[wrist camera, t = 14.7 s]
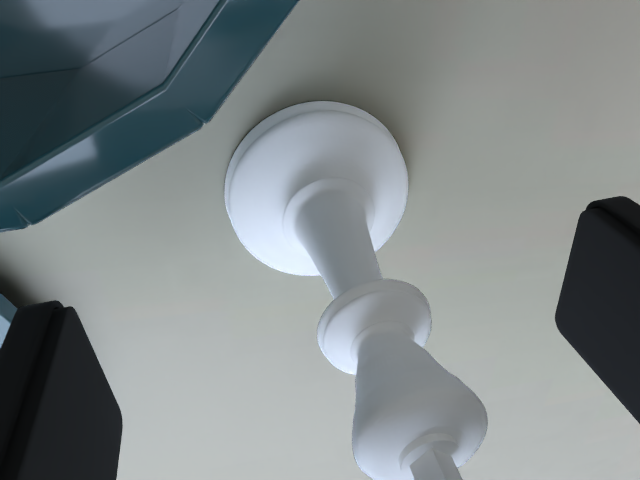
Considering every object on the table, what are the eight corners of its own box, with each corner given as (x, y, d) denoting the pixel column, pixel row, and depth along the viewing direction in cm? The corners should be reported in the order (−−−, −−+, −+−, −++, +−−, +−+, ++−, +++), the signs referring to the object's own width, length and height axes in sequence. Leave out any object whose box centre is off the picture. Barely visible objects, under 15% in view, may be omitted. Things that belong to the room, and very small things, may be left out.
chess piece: (306, 58, 12) (542, 382, 4) (438, 171, 14) (759, 523, 6) (186, 209, 14) (168, 680, 5) (324, 289, 16) (460, 702, 8)
